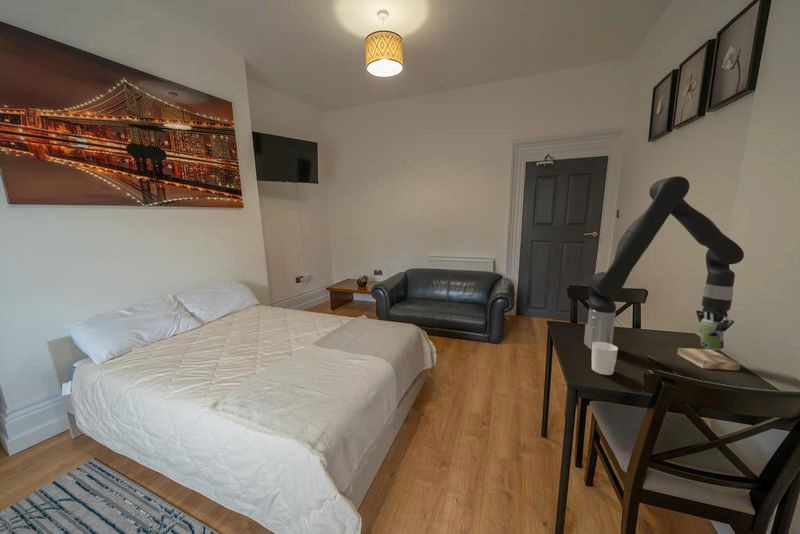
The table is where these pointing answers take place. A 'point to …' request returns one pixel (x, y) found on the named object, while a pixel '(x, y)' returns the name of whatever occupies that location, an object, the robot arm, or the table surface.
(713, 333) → the beverage can
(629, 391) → the table surface
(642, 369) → the table surface
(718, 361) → the base
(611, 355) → the white cup
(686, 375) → the table surface
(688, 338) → the table surface
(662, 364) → the fountain pen
